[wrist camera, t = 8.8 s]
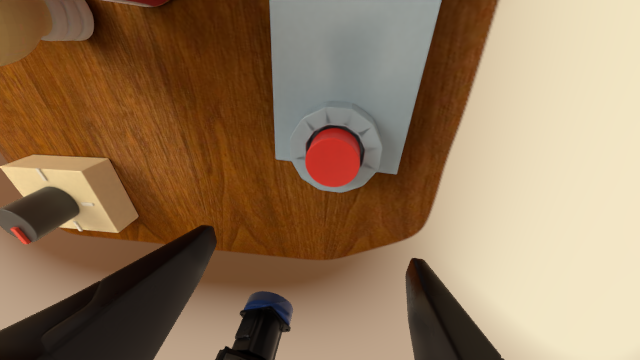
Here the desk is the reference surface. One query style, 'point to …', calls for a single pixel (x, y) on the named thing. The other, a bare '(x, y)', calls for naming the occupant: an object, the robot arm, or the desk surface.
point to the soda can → (141, 2)
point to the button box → (348, 76)
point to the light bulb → (40, 25)
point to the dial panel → (78, 188)
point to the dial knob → (38, 214)
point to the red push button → (333, 157)
